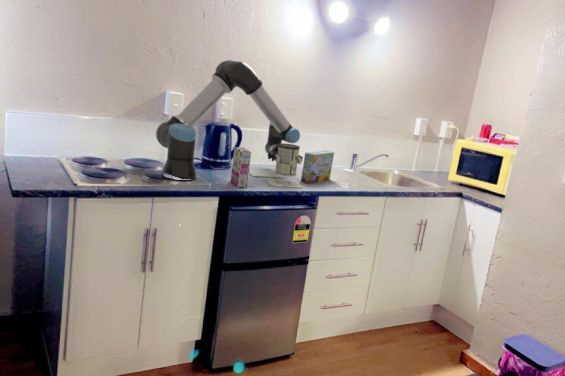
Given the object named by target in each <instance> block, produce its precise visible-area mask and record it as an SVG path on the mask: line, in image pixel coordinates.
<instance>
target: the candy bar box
mask: <svg viewBox="0 0 565 376" xmlns="http://www.w3.org/2000/svg"><path fill="white" fill-rule="evenodd" d="M251 155H252V152H251V151H250V150H248V149H247V148H245V147H239V146H237V147H234V148H233V157H232V163H231V164H232V166H231V175H230V183H231V184H232V185H233V186H235V187H236V188H237V189H239V188H240V189H246V188H248V180H249V169H250V163H251Z"/></svg>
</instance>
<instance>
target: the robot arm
mask: <svg viewBox="0 0 565 376" xmlns="http://www.w3.org/2000/svg"><path fill="white" fill-rule="evenodd" d="M236 87H237V88H239V89H241V90H242V91H243V92H244V93H245V95H246V96H249V97H251V99H252V100H253V102H254V104H256V106H257V107H258V108H259V110H260V111H261V113H262V114H263V115H264V116H265V117H266V119H267V120H268V121H269V125H268V135H267V142H266V143H265V146H264V149H265V152H266V154H267V159H268V160H271V161H272V162H277V163H279V161H280V157H279V156H278V155H277V154H278V144H282V141H284V142H285V143H286V142H287V144H296V143H298V141H299V140H300V138H301V133H300V130H298V129H297V128H296V127H293V126H292V124H291V123H290V121H289V120H288V119H287V117H286V116H285V115H284V113H283V112H282V110H281V109H280V108H279V106H278V105H277V104H276V102H275V101H274V100H273V98H272V97H271V95H270V94H269V92H268V91H267V90H266V89H265V87H264V86H263V81H262V79H261V78H260V77H259V75H258V74H257V72H255V70H254V69H253V68H252V67H251V66H250V65H249V64H248V63H246V62H243V61H237V60H232V59H231V60H225V61H221V62H219V64H217V66H216V67H215V72H214V73H213V74H212V75H211V81H210V82H209V83H208V84H207V85H206V86H205V87H204V88H203V89H202V90H201V91H200V92H199V93H198V94H197V96H196V97H195V98H193V99H192V100H191V101H190V103H189V104H188V105H187V106H185V108H184V109H183V110H181V112H180V113H179V114H178V115H172V116H171V117H170V118H169V119H168V120H167V121H164V122H162V123H160V124H159V125H158V126H157V128H156V131H155V137H156V140H157V142H158V143H159V144H160V145H161V147H163V148H166V149H167V156H166V157H167V159H166V161H165V164H164V167H163V169H162V171H163V172H164V173H167V174H169V175H172V176H175V177H178V178H181V179H195V178H196V179H197V170H196V167H195V163H194V162H195V161H194V160H195V149H196V148H195V147H196V138H197V131H196V128H195V127H194V126H195V125H196V124H198V122H199V121H200V120H201V119H202V118H203V117H204V116H205V115H206V114H207V113H208V112H209V111H210V110H211V109H212V107H214V106H215V105H216V103H218V101H219V100H220V99H221V98H222V97H223V96H225V94H230V93H231V92H232V91H233V90H234V89H236ZM303 159H304V158H303V156H301V155H300V154H299V155H298V162H297V165H300V166H301V165H302V162H303ZM196 179H195V180H196Z"/></svg>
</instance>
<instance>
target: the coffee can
mask: <svg viewBox="0 0 565 376" xmlns="http://www.w3.org/2000/svg"><path fill="white" fill-rule="evenodd" d="M300 147H301V146H299V145H297V144H293V143H284V142H283V143H281V144H278V154H277V155H278V156H279V157H280V161H279V163H277V162H276V161H275V162H276V164H275V170H274V171H275V173H276V174H278V175H281V176H282V177H296V176H297V170H298V169H297V168H298V163H297V162H298V155H300Z"/></svg>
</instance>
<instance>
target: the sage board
mask: <svg viewBox="0 0 565 376" xmlns="http://www.w3.org/2000/svg"><path fill="white" fill-rule="evenodd" d="M248 175H250V176H251V177H252V178H263V179H265V178H275V179H284V176H282V175H278V174H276V173H275V170H271V169H257V168H256V169H255V168H253V169H252V168H249V173H248Z"/></svg>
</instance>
